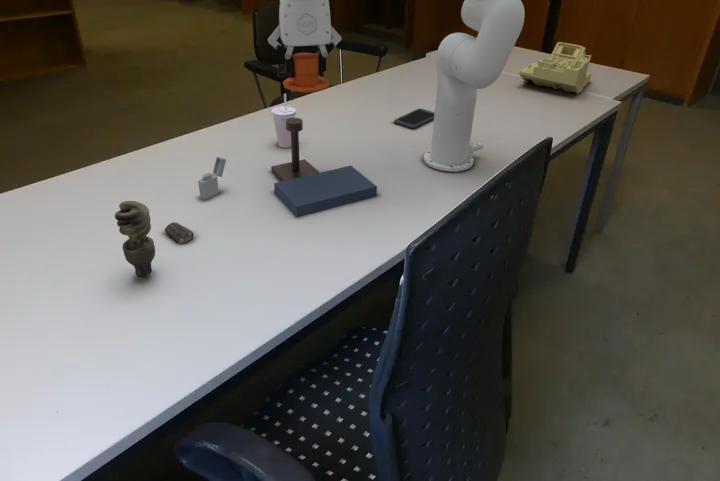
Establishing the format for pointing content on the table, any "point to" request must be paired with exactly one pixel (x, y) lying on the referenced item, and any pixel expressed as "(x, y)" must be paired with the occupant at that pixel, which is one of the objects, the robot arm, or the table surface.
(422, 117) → the cell phone
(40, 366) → the table surface
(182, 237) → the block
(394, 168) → the table surface
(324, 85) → the hat
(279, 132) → the smoothie
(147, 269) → the light bulb
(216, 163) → the lighter
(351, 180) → the low stand
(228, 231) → the table surface
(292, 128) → the hat stand
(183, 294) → the table surface
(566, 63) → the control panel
